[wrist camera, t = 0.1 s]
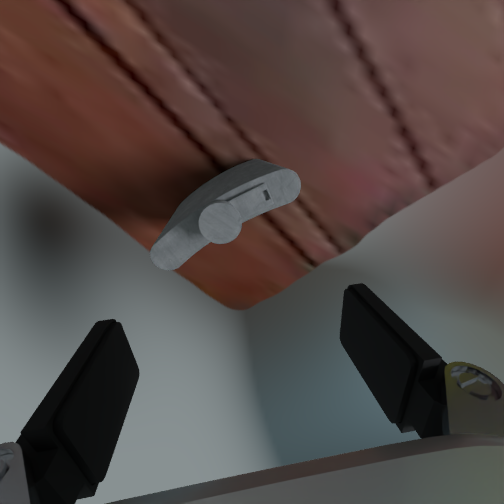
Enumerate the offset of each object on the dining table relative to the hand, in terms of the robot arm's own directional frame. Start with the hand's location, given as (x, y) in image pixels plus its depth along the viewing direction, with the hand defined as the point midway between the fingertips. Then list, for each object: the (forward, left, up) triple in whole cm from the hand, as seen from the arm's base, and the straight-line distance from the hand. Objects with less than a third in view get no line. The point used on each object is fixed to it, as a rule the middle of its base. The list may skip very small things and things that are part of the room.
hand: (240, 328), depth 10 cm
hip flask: (0, -1, -31) cm, 31 cm away
